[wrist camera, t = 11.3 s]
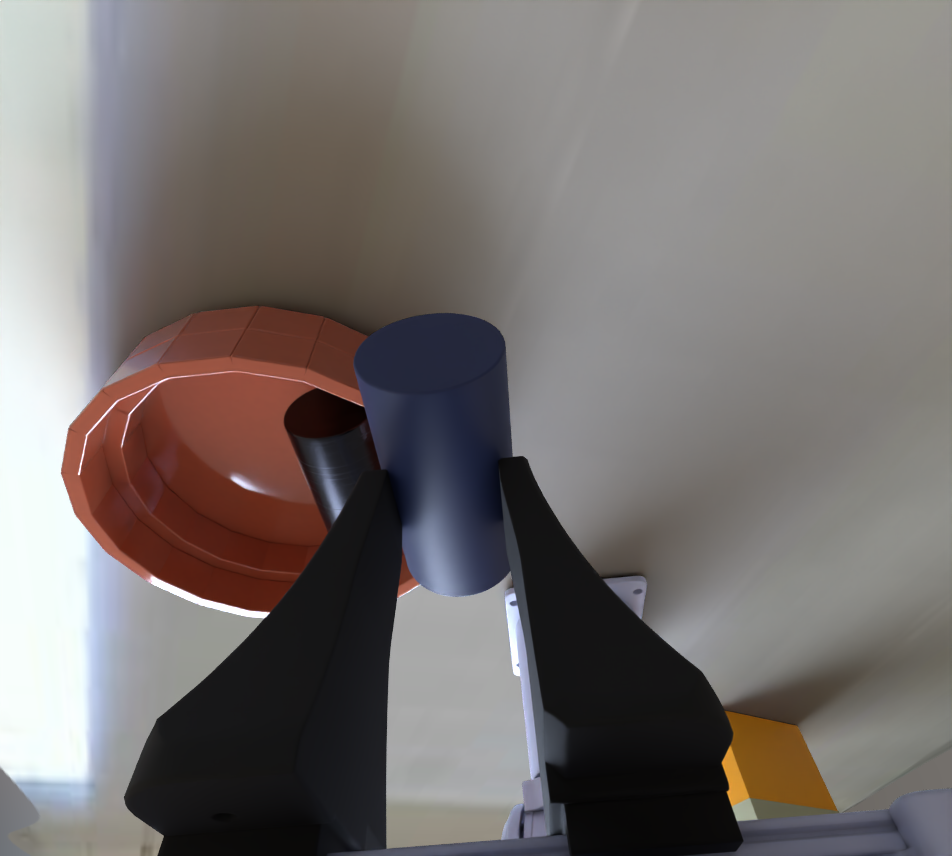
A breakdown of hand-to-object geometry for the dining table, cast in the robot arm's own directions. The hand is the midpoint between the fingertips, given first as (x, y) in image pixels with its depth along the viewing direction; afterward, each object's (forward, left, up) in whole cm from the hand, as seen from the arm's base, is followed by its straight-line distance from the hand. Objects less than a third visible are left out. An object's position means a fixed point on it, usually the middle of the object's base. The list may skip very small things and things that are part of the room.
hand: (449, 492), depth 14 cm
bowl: (-5, +8, -9) cm, 13 cm away
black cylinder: (-5, +5, -8) cm, 11 cm away
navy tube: (0, -2, -1) cm, 2 cm away
